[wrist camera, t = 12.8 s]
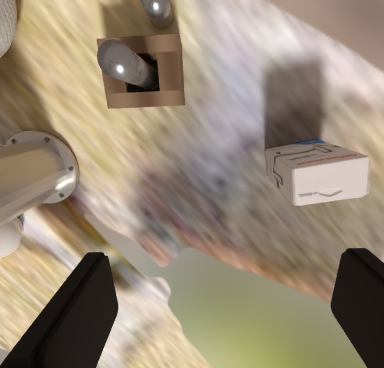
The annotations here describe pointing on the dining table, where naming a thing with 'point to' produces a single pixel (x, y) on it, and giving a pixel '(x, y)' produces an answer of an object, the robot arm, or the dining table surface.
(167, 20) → the short steel pin
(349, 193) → the ink box
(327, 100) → the dining table surface
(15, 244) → the flower vase
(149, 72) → the long steel pin
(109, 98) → the walnut hole block
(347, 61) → the dining table surface
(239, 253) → the dining table surface
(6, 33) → the cereal bowl
